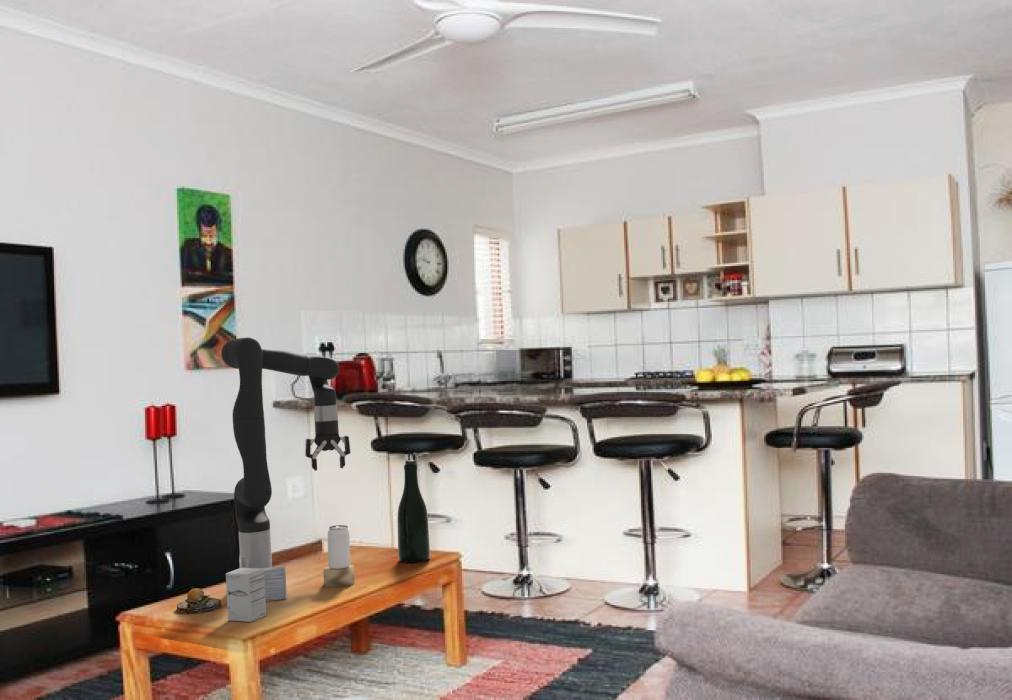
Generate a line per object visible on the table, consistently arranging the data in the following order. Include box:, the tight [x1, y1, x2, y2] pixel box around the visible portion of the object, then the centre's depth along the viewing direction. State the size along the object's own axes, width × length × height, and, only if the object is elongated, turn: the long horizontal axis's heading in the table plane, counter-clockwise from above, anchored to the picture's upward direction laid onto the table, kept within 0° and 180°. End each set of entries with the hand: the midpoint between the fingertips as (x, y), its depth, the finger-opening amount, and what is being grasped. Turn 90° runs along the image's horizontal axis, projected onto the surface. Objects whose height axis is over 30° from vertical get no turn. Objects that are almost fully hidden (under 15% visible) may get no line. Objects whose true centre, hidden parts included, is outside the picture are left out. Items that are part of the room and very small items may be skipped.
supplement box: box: [225, 567, 267, 623], centre depth 253 cm, size 7×7×13 cm
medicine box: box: [261, 565, 288, 602], centre depth 273 cm, size 8×4×9 cm, turn 100°
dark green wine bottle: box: [396, 459, 431, 563], centre depth 318 cm, size 10×10×33 cm
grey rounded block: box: [323, 564, 355, 588], centre depth 288 cm, size 9×9×5 cm
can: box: [327, 524, 351, 569], centre depth 288 cm, size 6×6×12 cm
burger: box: [176, 587, 222, 615], centre depth 267 cm, size 12×12×8 cm
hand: (328, 469), depth 312 cm, fingers open, 8 cm apart
